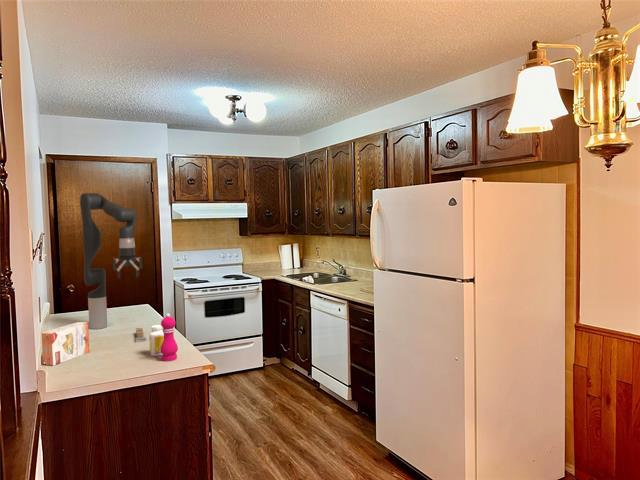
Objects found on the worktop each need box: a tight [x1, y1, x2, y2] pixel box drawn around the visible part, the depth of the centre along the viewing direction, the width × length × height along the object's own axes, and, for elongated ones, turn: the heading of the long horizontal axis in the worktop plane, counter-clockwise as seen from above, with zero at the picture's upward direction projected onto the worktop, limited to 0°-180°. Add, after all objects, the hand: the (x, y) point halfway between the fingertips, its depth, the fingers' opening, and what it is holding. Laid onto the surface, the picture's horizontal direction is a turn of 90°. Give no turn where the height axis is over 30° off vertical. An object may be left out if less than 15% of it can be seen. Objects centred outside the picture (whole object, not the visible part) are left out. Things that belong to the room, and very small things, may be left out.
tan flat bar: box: [134, 327, 147, 343], centre depth 244 cm, size 18×5×3 cm, turn 23°
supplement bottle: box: [148, 324, 164, 357], centre depth 213 cm, size 7×7×13 cm
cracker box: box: [41, 321, 90, 367], centre depth 209 cm, size 14×6×21 cm
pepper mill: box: [160, 313, 179, 362], centre depth 206 cm, size 7×7×20 cm
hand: (128, 277), depth 248 cm, fingers open, 8 cm apart
